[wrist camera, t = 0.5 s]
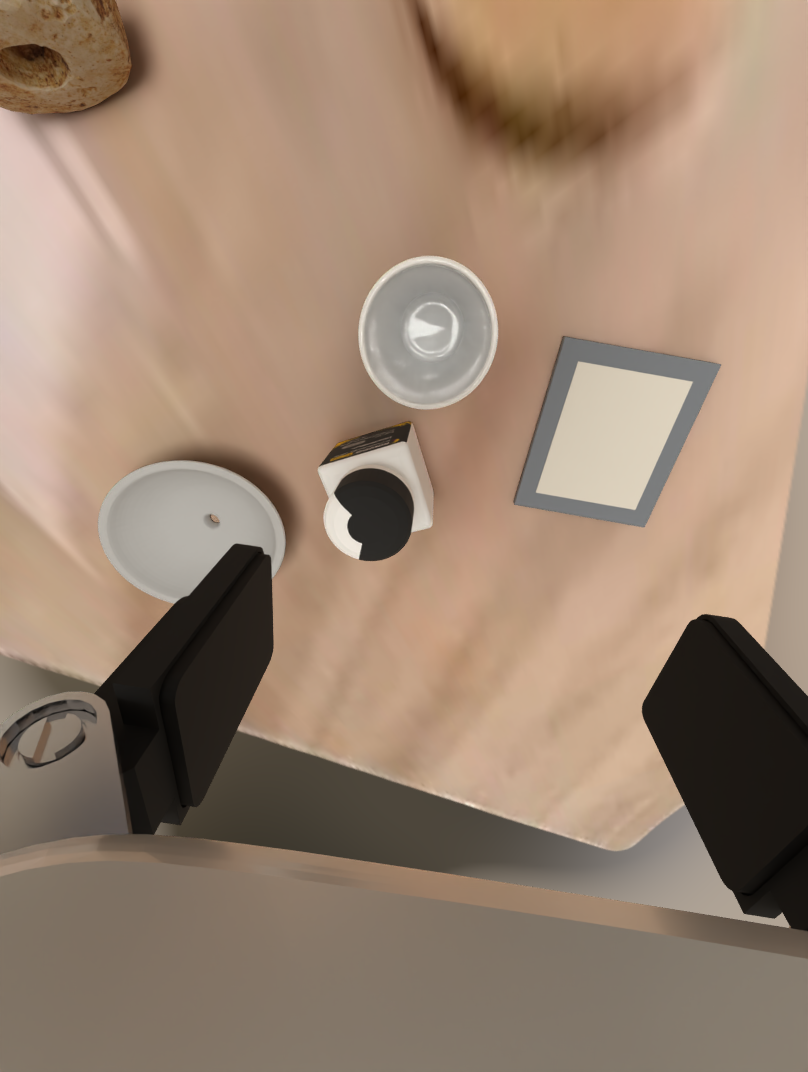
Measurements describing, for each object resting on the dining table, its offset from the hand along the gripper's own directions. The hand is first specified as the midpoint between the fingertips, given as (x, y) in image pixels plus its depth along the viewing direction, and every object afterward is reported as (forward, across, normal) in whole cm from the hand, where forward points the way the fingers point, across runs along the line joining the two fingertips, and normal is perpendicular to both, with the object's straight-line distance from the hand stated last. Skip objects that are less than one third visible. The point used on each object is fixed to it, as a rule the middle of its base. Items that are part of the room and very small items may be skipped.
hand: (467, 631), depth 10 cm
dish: (+30, +21, +15) cm, 39 cm away
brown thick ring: (+30, +27, -16) cm, 43 cm away
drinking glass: (+30, +2, -5) cm, 30 cm away
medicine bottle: (+30, +4, +7) cm, 31 cm away
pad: (+30, -14, +2) cm, 33 cm away
